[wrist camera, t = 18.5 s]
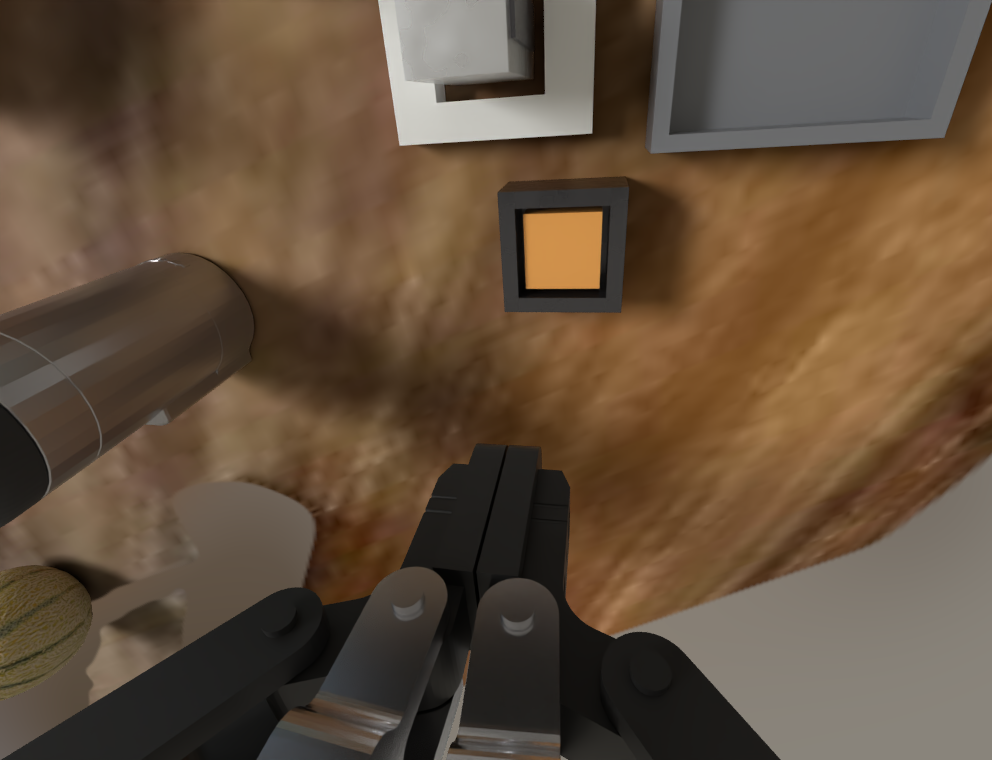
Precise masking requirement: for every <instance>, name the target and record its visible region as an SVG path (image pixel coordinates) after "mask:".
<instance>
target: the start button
mask: <svg viewBox="0 0 992 760" xmlns="http://www.w3.org/2000/svg"><path fill="white" fill-rule="evenodd" d="M602 213H603V211H602V206H585V207H557V208H528V209H526V211H525V212H524V214H523V224H524V251H525V278H526V289H599V287H600V262H601V238H602Z"/></svg>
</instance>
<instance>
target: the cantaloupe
mask: <svg viewBox="0 0 992 760" xmlns="http://www.w3.org/2000/svg"><path fill="white" fill-rule="evenodd" d="M92 615H93V614H92V605H91V598H90V595H89V594H88V592H87V590H86V589H85V587H84V586H83V585H82V584H81V583H80V582H79V581H78V580H77V579H75V578H74V577H73V576H72V575H70V574H69V573H67V572H65V571H61V570H58V569H56V568H54V567H47V566H39V565H31V566H21V567H16V568H11V569H8V570H3V571H1V572H0V701H1V700H5V699H7V698H10V697H14V696H16V695H18V694H20V693H22V692H25V691H27V690H29V689H30V688H33V687H35V686H36V685H38V684H40V683H42V682H43V681H45V680H47V679H48V678H49V677H51V676H52V675H53V674H55V673H56V672H58V671H59V670H60V669H61V668H62V667H64V666H65V665H66V664H67V663H68V662H69V661H70V659H71V658H72V657H73V656H74V655H75V654H76V653H77V652H78V650H79V649H80V647H81V645H82V644H83V643H84V641H85V638H86V636H87V633H88V631H89V629H90V626H91V621H92Z"/></svg>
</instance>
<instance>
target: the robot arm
mask: <svg viewBox="0 0 992 760" xmlns="http://www.w3.org/2000/svg"><path fill="white" fill-rule="evenodd" d="M253 335H254V320H253V315H252V312H251V309H250V306H249V303H248V302H247V300H246V298H245V296H244V294H243V292H242V291H241V290H240V288H239V287H238V286H237V284H236V283H235V282H234V281H233V280H232V279H231V278H230V277H229V276H228V275H227V274H226V273H225V272H224V271H223V270H221V269H220V268H219V267H217V266H216V265H215V264H213V263H211V262H209V261H207V260H205V259H203V258H201V257H198V256H195V255H192V254H187V253H172V254H167V255H164V256H161V257H159V258H156V259H153V260H152V259H151V260H148V261H145V262H143V263H140V264H139V265H136V266H134V267H131V268H128V269H125V270H122V271H120V272H117V273H114V274H111V275H109V276H106V277H103V278H100V279H98V280H95V281H92V282H89V283H87V284H84V285H81V286H78V287H75V288H73V289H70V290H67V291H64V292H62V293H59V294H56V295H53V296H51V297H48V298H45V299H42V300H40V301H37V302H34V303H31V304H29V305H26V306H23V307H20V308H18V309H15V310H12V311H9V312H7V313H4V314H1V315H0V528H1V527H2V526H4V525H6V524H7V523H9V522H10V521H12V520H13V519H15V518H16V517H18V516H19V515H20V514H22V513H23V512H25V511H26V510H27V509H29V508H30V507H31V506H33V505H34V504H36V503H37V502H38V501H40V500H41V499H42V498H44V497H45V496H47V495H48V494H49V493H51V492H52V491H53V490H55V489H56V488H58V487H59V486H60V485H62V484H63V483H65V482H66V481H67V480H69V479H70V478H72V477H73V476H74V475H76V474H77V473H78V472H80V471H81V470H83V469H84V468H85V467H87V466H88V465H90V464H91V463H92V462H93V461H95V460H96V459H98V458H99V457H100V456H102V455H103V454H105V453H106V452H107V451H109V450H110V449H112V448H113V447H114V446H116V445H117V444H118V443H120V442H121V441H123V440H124V439H125V438H127V437H128V436H130V435H131V434H132V433H134V432H135V431H137V430H138V429H139V428H141V427H142V426H143V425H166V424H168V423H170V422H171V421H173V420H174V419H175V418H177V417H178V416H179V415H181V414H182V413H183V412H185V411H186V410H187V409H189V408H190V407H191V406H192V405H194V404H195V403H196V402H198V401H199V400H200V399H202V398H203V397H204V396H206V395H207V394H208V393H210V392H211V391H212V390H214V389H215V388H216V387H218V386H219V385H220V384H222V383H223V382H224V381H225V380H227V379H228V378H229V377H231V376H232V375H233V374H235V373H236V372H237V371H239V370H240V369H241V368H243V367H244V366H245V365H247V364H248V363H249V362H251V360H252V358H251V356H250V352H249V348H250V345H251V342H252V339H253ZM569 529H570V486H569V484H568V482H567V480H566V478H565V476H564V474H563V472H562V471H559V470H544V469H542V456H541V447H533V446H516V445H509V447H508V445H496V444H479V443H478V444H476V446H475V448H474V451H473V453H472V456H471V459H470V462H469V465H467V464H453V465H451V466H450V467H449V468H448V469H447V470H446V471H445V472H444V473H443V474H442V475H441V476H440V477H439V478H438V481H437V483H436V485H435V488H434V490H433V493H432V497H431V498H430V500H429V502H428V504H427V507H426V512H425V513H424V514H423V516H422V519H421V521H420V524H419V526H418V528H417V531H416V533H415V535H414V538H413V540H412V543H411V545H410V547H409V550H408V552H407V554H406V557H405V559H404V562H403V564H402V566H401V568H400V570H397V571H395V572H393V573H391V574H390V575H388V576H387V577H385V578H384V579H383V580H382V581H381V582H380V583H379V584H378V585H377V586H376V588H375V589H374V591H373V592H372V594H371V595H369V596H366V597H364V598H360V599H356V600H351V601H345V602H340V603H335V604H329V605H324V606H323V605H322V602H321V600H320V598H319V597H318V596H317V594H316V593H314V592H313V591H311V590H309V589H306V588H288V589H284V590H280V591H278V592H276V593H273V594H271V595H270V596H268V597H266V598H264V599H263V600H261V601H259V602H258V603H256V604H255V605H253V606H252V607H250V608H248V609H246V610H245V611H243V612H241V613H240V614H238V615H237V616H235V617H233V618H232V619H230V620H229V621H227V622H225V623H224V624H222V625H220V626H219V627H217V628H216V629H214V630H212V631H211V632H209V633H207V634H206V635H204V636H202V637H201V638H199V639H197V640H196V641H194V642H193V643H191V644H189V645H188V646H186V647H184V648H183V649H181V650H180V651H178V652H176V653H175V654H173V655H171V656H170V657H168V658H166V659H165V660H163V661H162V662H160V663H158V664H157V665H155V666H153V667H152V668H150V669H149V670H147V671H145V672H144V673H142V674H140V675H139V676H137V677H135V678H134V679H132V680H131V681H129V682H127V683H126V684H124V685H122V686H121V687H119V688H118V689H116V690H114V691H113V692H111V693H109V694H108V695H106V696H105V697H103V698H101V699H100V700H98V701H96V702H95V703H93V704H91V705H90V706H88V707H87V708H85V709H83V710H82V711H80V712H78V713H77V714H75V715H74V716H72V717H70V718H69V719H67V720H65V721H64V722H62V723H61V724H59V725H57V726H56V727H54V728H52V729H51V730H49V731H48V732H46V733H44V734H43V735H41V736H39V737H38V738H36V739H34V740H33V741H31V742H29V743H28V744H26V745H25V746H23V747H22V748H20V749H18V750H17V751H15V752H13V753H12V754H10V755H8V756H7V757H5V758H3V759H2V760H442V758H443V754H444V751H445V748H446V744H447V741H448V738H449V734H450V731H451V728H452V725H453V721H454V718H455V714H456V711H457V708H458V705H459V701H460V698H461V695H462V690H463V678H462V677H463V673H464V668H465V664H466V660H467V655H468V651H469V650H471V653H470V659H469V666H468V672H467V679H466V685H465V692H464V698H463V705H462V712H461V718H460V724H459V730H458V734H457V737H456V740H455V741H454V742H452V744H451V745H450V748H449V751H448V754H447V758H446V760H560V755H561V756H563V757H565V758H566V759H568V760H780V759H779V758H778V756H776V754H775V753H774V752H773V751H772V750H771V749H770V748H769V746H768V745H767V744H766V743H765V742H764V741H763V740H762V739H761V738H760V737H759V735H758V734H757V733H756V732H755V731H754V730H753V729H752V728H751V727H750V725H749V724H748V723H747V722H746V721H745V720H744V719H743V718H742V717H741V715H740V714H739V713H738V712H737V711H736V710H735V709H734V708H733V707H732V705H731V704H730V703H729V702H728V701H727V700H726V699H725V698H724V697H723V696H722V694H721V693H720V692H719V691H718V690H717V689H716V688H715V687H714V685H713V684H712V683H711V682H710V681H709V680H708V679H707V678H706V677H705V676H704V674H703V673H702V672H701V671H700V670H699V669H698V668H697V667H696V666H695V664H693V662H692V661H691V660H690V659H689V658H688V657H687V656H686V654H685V653H684V652H683V651H682V650H680V649H679V648H678V647H677V646H676V645H675V644H673V643H672V642H670V641H669V640H667V639H665V638H663V637H661V636H658V635H655V634H651V633H647V632H632V633H628V634H625V635H623V636H621V637H618V638H617V639H615V638H613V637H611V636H609V635H606V634H604V633H602V632H600V631H598V630H596V629H594V628H592V627H590V626H588V625H587V624H585V623H584V622H583V621H581V620H580V619H579V618H578V617H577V616H576V615H575V614H574V612H573V611H572V610H571V609H570V607H569V605H568V603H567V601H566V598H565V596H566V580H567V565H568V550H569Z"/></svg>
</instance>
